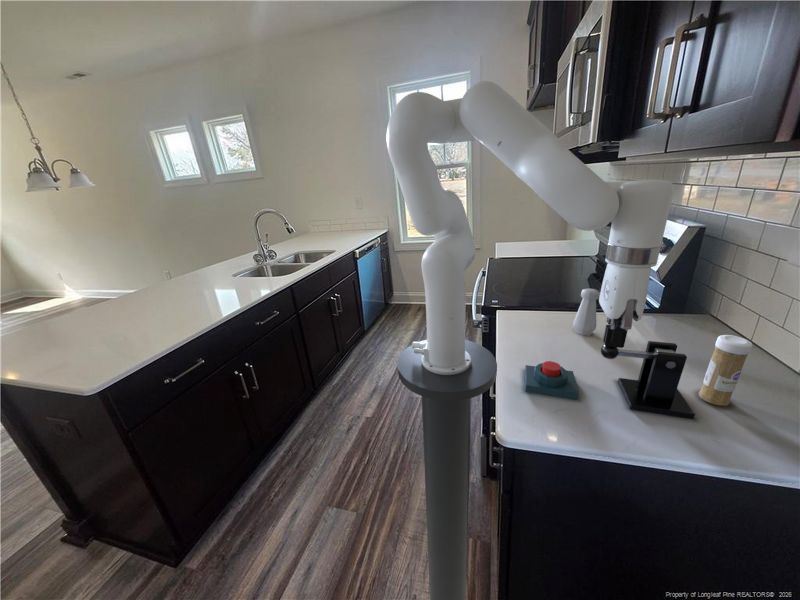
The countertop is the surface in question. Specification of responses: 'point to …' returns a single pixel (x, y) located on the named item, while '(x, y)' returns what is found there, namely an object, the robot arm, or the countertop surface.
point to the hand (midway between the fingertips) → (613, 345)
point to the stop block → (550, 382)
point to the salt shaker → (586, 312)
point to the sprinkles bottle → (724, 369)
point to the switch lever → (630, 352)
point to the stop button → (551, 369)
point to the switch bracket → (658, 384)
